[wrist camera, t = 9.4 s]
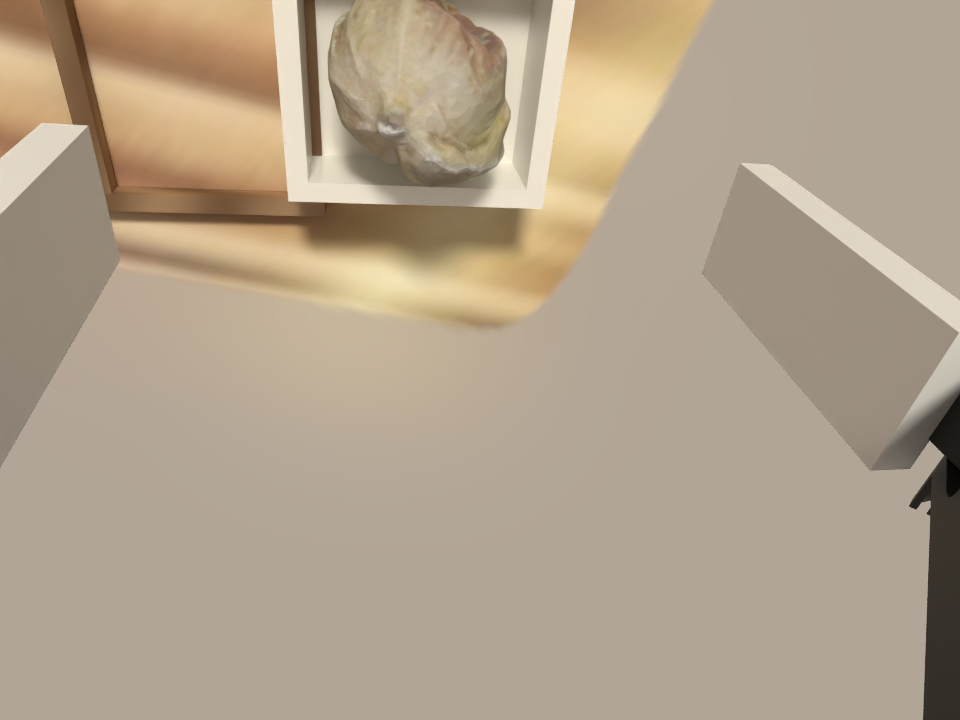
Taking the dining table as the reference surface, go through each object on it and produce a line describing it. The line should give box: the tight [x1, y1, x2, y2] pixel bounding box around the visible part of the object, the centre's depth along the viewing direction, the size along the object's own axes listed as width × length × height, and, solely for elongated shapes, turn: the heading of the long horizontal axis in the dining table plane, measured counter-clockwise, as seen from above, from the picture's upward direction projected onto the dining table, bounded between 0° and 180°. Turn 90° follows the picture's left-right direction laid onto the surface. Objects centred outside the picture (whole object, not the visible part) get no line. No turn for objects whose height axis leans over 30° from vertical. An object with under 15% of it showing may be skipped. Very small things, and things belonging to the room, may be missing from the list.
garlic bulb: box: [328, 0, 511, 187], centre depth 30 cm, size 9×8×10 cm
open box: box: [272, 0, 575, 209], centre depth 32 cm, size 13×13×5 cm
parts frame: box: [40, 0, 326, 217], centre depth 33 cm, size 12×13×1 cm
